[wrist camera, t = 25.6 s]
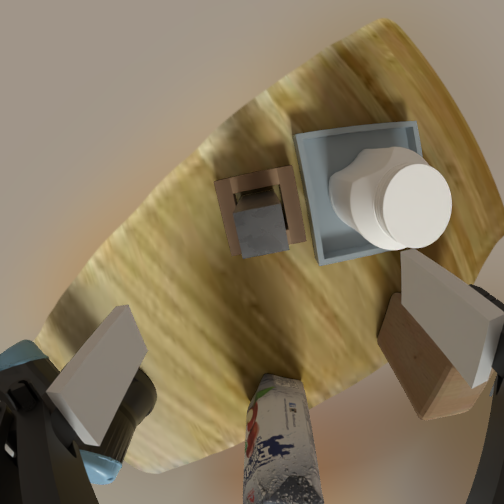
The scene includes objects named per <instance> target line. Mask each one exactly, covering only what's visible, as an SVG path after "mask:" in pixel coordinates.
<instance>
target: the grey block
mask: <svg viewBox="0 0 504 504" xmlns="http://www.w3.org/2000/svg"><path fill="white" fill-rule="evenodd" d="M233 217H234V222H235V226H236V230H237V235H238V239H239V244H240V248H241V252H242V257H243V259H245V258H250V257H255V256H260V255H266V254H271V253H276V252H281V251H286V250H289V245H288V239H287V234H286V228H285V223H284V218H283V212H282V207H281V203H280V201H279V199H278V197H277V196H276V194H275V192H274V190H267V191H262V192H257V193H252V194H247V195H243V196H241V197H240V199H239V201H238V203H237V205H236V207H235V209H234V211H233Z"/></svg>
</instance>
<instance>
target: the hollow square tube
mask: <svg viewBox="0 0 504 504" xmlns="http://www.w3.org/2000/svg"><path fill="white" fill-rule="evenodd" d="M276 184H279V189H280V194H281V198H282V203H283V208H284V214H285V219H286V224H287V225H285V228H286V234H287V239H288V245H290V244H295V243H300V242H305V241H306V236H305V230H304V224H303V219H302V213H301V208H300V202H299V197H298V192H297V187H296V182H295V176H294V172H293V167H292V165H287V166H282V167H277V168H272V169H267V170H262V171H257V172H252V173H248V174H243V175H238V176H234V177H229V178H225V179H221V180H217V181H215V182H214V185H215V189H216V193H217V197H218V201H219V206H220V210H221V214H222V218H223V222H224V227H225V231H226V235H227V239H228V243H229V247H230V251H231V255H232V256H235V255H240V254H242V252H241V248H240V244H239V239H238V235H237V230H236V226H235V222H234V217H233V211H234V209H235V207H236V205H237V199H236V195H235V193H238V192H243V191H247V190H252V189H257V188H261V187H266V186H271V185H276Z"/></svg>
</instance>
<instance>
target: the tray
mask: <svg viewBox="0 0 504 504" xmlns="http://www.w3.org/2000/svg"><path fill="white" fill-rule="evenodd" d="M293 140H294V145H295V150H296V154H297V159H298V164H299V169H300V174H301V179H302V184H303V189H304V195H305V200H306V206H307V211H308V217H309V223H310V228H311V234H312V240H313V247H314V253H315V259H316V261H317V263H318V265H319V266H322V265H327V264H332V263H337V262H341V261H346V260H351V259H355V258H360V257H364V256H369V255H373V254H378V253H382V252H387V251H391V250H386V249H382V248H379V247H377V246H375V245H373V244H372V243H370V242H369V241H368V240H366V239H365V238H364V237H363V236H362V235H361V234H360V233H359V232H357V231H356V230H355V229H353V228H351V227H350V226H348V225H347V224H345V223H344V222H343V221H342V220H341V219H340V218H339V217H338V216H337V214H336V213H335V211H334V210H333V208H332V205H331V202H330V198H329V180H330V177H331V176H332V175H333V174H334V173H335V172H338V171H340V170H342V169H344V168H346V167H347V166H348V165H350V164H351V163H352V162H353V161H354V160H355V158H356V157H357V156H358V154H359V153H360V152H361V151H362V150H363V149H378V148H390V147H403V148H407V149H409V150H412V151H414V152H416V153H417V154H419V155H420V156H421V157H422V158H423V156H422V149H421V143H420V137H419V132H418V127H417V122H416V121H404V122H390V123H378V124H368V125H358V126H350V127H341V128H334V129H327V130H320V131H313V132H307V133H300V134H295V135H294V136H293Z"/></svg>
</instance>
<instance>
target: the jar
mask: <svg viewBox="0 0 504 504" xmlns="http://www.w3.org/2000/svg"><path fill="white" fill-rule="evenodd" d="M329 198H330V202H331V205H332V208H333V210H334V211H335V213H336V214H337V216H338V217H339V218H340V219H341V220H342V221H343V222H344V223H345V224H347V225H348V226H350V227H351V228H353V229H355V230H356V231H357V232H359V233H360V234H361V235H362V236H363V237H364V238H365V239H366V240H368V241H369V242H370V243H372V244H373V245H375V246H377V247H379V248H382V249H386V250H400V249H404V248H407V247H409V248H422V247H425V246H428V245H430V244H431V243H433V242H434V241H436V240H437V239H438V238H439V237H440V236H441V235H442V233H443V232H444V230H445V229H446V227H447V225H448V222H449V219H450V215H451V209H452V199H451V193H450V189H449V186H448V184H447V182H446V180H445V179H444V177H443V176H442V175H441V173H440V172H438V171H437V170H436V169H434V168H433V167H431V166H429V164H428V163H427V162H426V161H425V160H424V159H423V158H422V157H421V156H420V155H419V154H417V153H416V152H414V151H412V150H409V149H407V148H403V147H390V148H378V149H363V150H362V151H361V152H360V153H359V154H358V156H357V157H356V158H355V160H354V161H353V162H352V163H351V164H350V165H348V166H347V167H346V168H344V169H342V170H340V171H338V172H335V173H334V174H333V175H332V176H331V177H330V180H329Z"/></svg>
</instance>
